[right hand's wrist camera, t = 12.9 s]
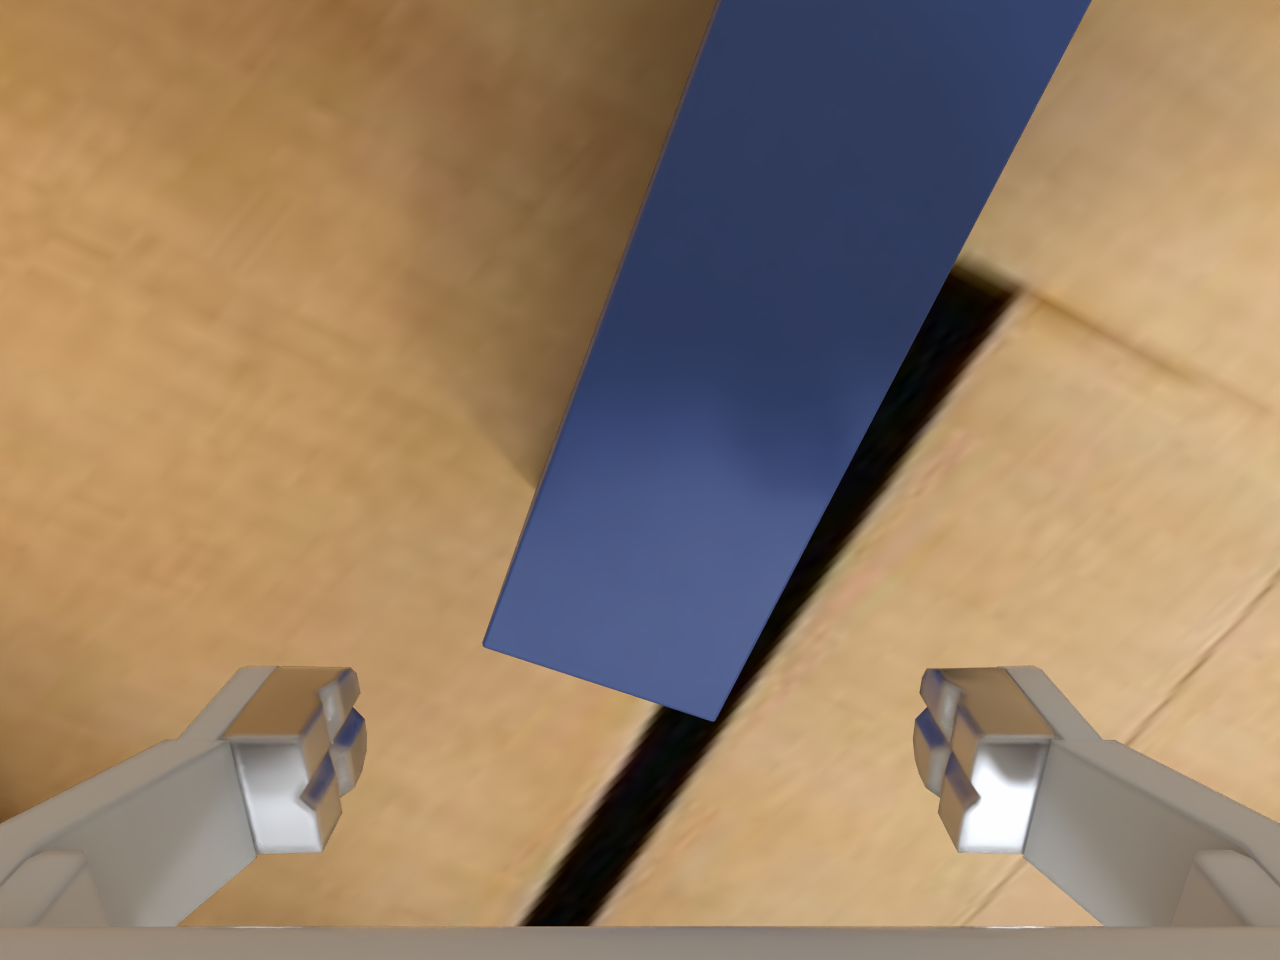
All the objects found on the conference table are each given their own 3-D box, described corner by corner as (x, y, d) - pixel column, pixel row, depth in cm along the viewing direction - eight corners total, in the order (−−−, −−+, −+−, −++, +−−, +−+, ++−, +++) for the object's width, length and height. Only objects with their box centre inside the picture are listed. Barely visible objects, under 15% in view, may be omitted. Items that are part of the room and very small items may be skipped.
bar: (688, 548, 23) (715, 723, 15) (534, 493, 22) (480, 647, 15) (1227, -622, 14) (1934, -1606, 7) (1001, -769, 14) (1488, -2068, 6)
